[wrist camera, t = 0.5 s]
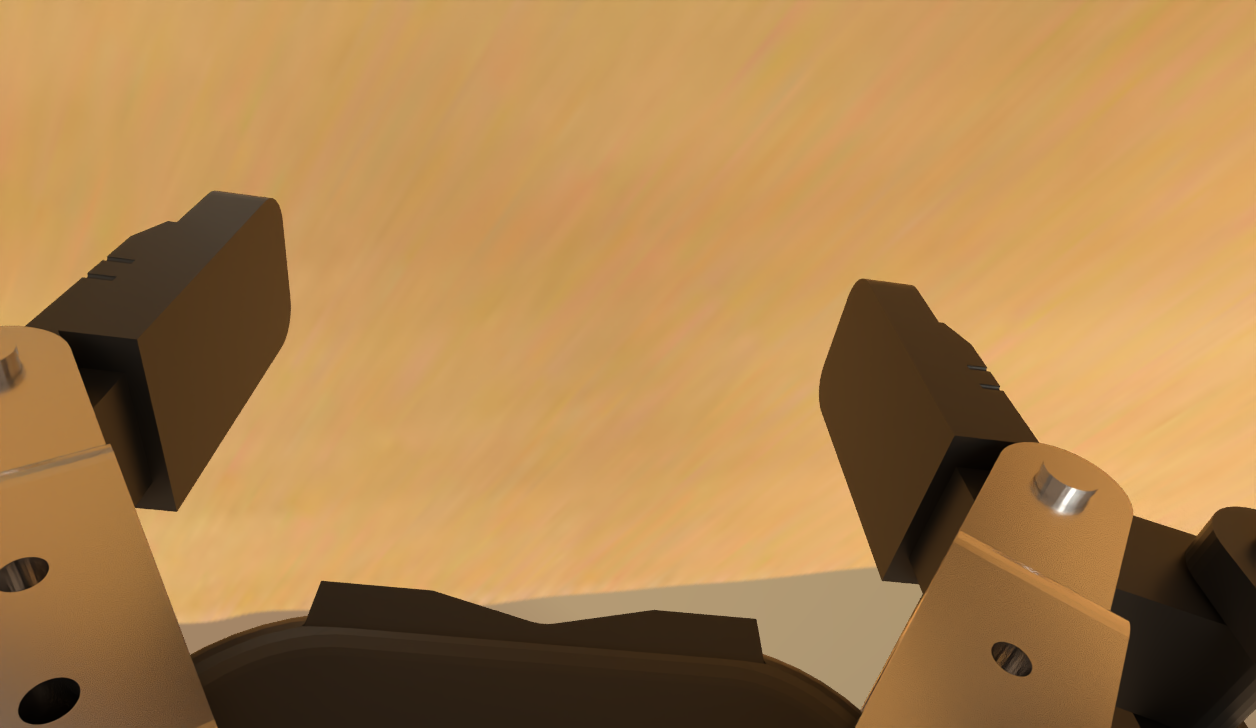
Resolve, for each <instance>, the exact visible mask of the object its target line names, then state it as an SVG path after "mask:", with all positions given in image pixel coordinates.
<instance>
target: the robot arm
mask: <svg viewBox="0 0 1256 728" xmlns="http://www.w3.org/2000/svg"><path fill="white" fill-rule="evenodd" d="M290 313H291V301H290V290H289V280H288V270H287V260H286V250H285V239H284V229H283V220H282V214H281V210H280V207H279V205H278V203H277V201H276V200H275V199H273V198H266V197H258V196H251V195H243V194H236V193H228V192H221V191H212V192H210V193H209V194H208V195H206V196H205V197H204V198H203V199H202V200H201V201H200V202H199V203H198V204H197V205H195V206H194V207H193V208H192V209H191V210H190V211H189V212H188V213H187V214H185V215H184V216H183V217H182V218H181V219H180V220H179V221H178V222H170V221H167V222H165V223H162V224H160V225H157V226H155V227H153V228H150V229H148V230H145V231H143V232H140V233H138V234H135V235H133V236H131V237H129V238H128V239H127V240H126V241H125V242H124V243H122V244H121V245H120V246H119V247H118V248H117V249H115V250H114V251H113V252H112V253H111V254H109V255H108V256H107V261H104V260H102V261H101V262H100V263H99V264H98V265H97V266H95V267H94V268H93V269H92V270H91V271H89V272H88V277H87V278H83V277H82V278H81V279H80V280H79V281H78V282H77V283H75V284H74V285H73V286H72V287H71V288H69V289H68V290H67V291H66V292H65V293H64V294H62V295H61V296H60V297H59V298H58V299H57V300H55V301H54V302H53V303H52V304H51V305H49V306H48V307H47V308H46V309H45V310H44V311H42V312H41V313H40V314H39V315H38V316H37V317H35V318H34V319H33V320H32V321H31V322H29V323H28V324H27V325H26V326H25V327H23V326H0V728H1248V727H1247V725H1246V724H1245V722H1244V720H1245V719H1246V718H1247V717H1248V716H1249V715H1250V714H1251V713H1252V712H1253V711H1254V710H1255V709H1256V509H1251V508H1246V507H1226V508H1223V509H1220V510H1218V511H1217V512H1216V513H1215V514H1214V515H1213V516H1212V518H1211V519H1210V520H1209V521H1208V523H1207V524H1206V525H1205V526H1204V528H1203V529H1202V530H1201V531H1200V533H1199V534H1198V535H1197V536H1195V535H1192V534H1189V533H1186V532H1183V531H1180V530H1176V529H1173V528H1170V527H1167V526H1164V525H1161V524H1158V523H1155V522H1152V521H1148V520H1145V519H1142V518H1139V517H1136V516H1133V508H1132V504H1131V502H1130V500H1129V498H1128V496H1127V495H1126V493H1125V492H1124V490H1123V489H1122V488H1121V487H1120V486H1119V485H1118V484H1117V482H1116V481H1115V480H1113V479H1112V478H1111V477H1110V476H1109V475H1108V474H1107V473H1105V472H1104V471H1103V470H1101V469H1100V468H1098V467H1097V466H1095V465H1094V464H1092V463H1091V462H1089V461H1087V460H1085V459H1083V458H1082V457H1080V456H1078V455H1076V454H1073V453H1071V452H1069V451H1066V450H1064V449H1061V448H1058V447H1055V446H1051V445H1046V444H1042V443H1039V442H1038V440H1037V439H1036V437H1035V436H1034V435H1033V433H1032V432H1031V430H1030V429H1029V427H1028V426H1027V424H1026V423H1025V422H1024V420H1023V419H1022V417H1021V416H1020V414H1019V413H1018V411H1017V410H1016V409H1015V407H1014V406H1013V404H1012V403H1011V401H1010V400H1009V398H1008V397H1007V396H1006V394H1005V393H1004V391H1000V390H999V387H1000V385H999V384H998V383H997V381H996V380H995V378H994V377H993V375H992V374H991V372H988V371H986V369H987V367H986V365H985V364H984V362H983V361H982V359H981V358H980V357H979V355H978V354H977V352H976V351H975V349H974V348H973V346H972V345H971V344H970V343H969V342H967V341H966V340H965V339H964V338H962V337H961V336H960V335H958V334H957V333H956V332H955V331H953V330H952V329H951V328H949V327H948V326H947V325H946V324H944V323H940V322H938V320H937V319H936V317H935V316H934V314H933V313H932V311H931V310H930V308H929V307H928V305H927V304H926V302H925V301H924V299H923V298H922V296H921V295H920V293H919V292H918V290H917V289H916V288H915V287H914V286H913V285H906V284H899V283H891V282H884V281H876V280H869V279H860V280H858V281H857V282H856V283H855V285H854V286H853V288H852V290H851V292H850V294H849V296H848V299H847V302H846V305H845V308H844V310H843V313H842V316H841V319H840V322H839V324H838V327H837V330H836V333H835V336H834V338H833V341H832V344H831V347H830V350H829V352H828V355H827V358H826V361H825V364H824V367H823V370H822V374H821V379H820V386H819V402H820V408H821V412H822V414H823V417H824V420H825V423H826V426H827V428H828V431H829V434H830V437H831V440H832V442H833V445H834V448H835V451H836V454H837V456H838V459H839V462H840V465H841V468H842V470H843V473H844V476H845V479H846V482H847V484H848V487H849V490H850V493H851V496H852V498H853V501H854V504H855V507H856V510H857V512H858V515H859V518H860V521H861V524H862V526H863V529H864V532H865V535H866V538H867V540H868V543H869V546H870V549H871V552H872V554H873V557H874V560H875V563H876V566H877V568H878V571H879V574H880V577H881V579H882V581H891V582H901V583H912V584H919V585H920V588H921V590H922V593H923V595H922V597H921V598H920V600H919V602H918V604H917V606H916V608H915V609H914V611H913V613H912V615H911V617H910V618H909V620H908V622H907V624H906V626H905V628H904V630H903V632H902V633H901V636H900V637H899V639H898V641H897V643H896V645H895V646H894V648H893V650H892V652H891V654H890V656H889V658H888V659H887V661H886V663H885V665H884V667H883V669H882V671H881V672H880V674H879V676H878V678H877V680H876V682H875V683H874V685H873V687H872V689H871V691H870V693H869V695H868V697H867V698H866V700H865V702H864V704H863V706H862V708H861V710H859V709H858V708H857V707H855V706H854V705H853V704H852V703H851V702H850V701H848V700H847V699H846V698H845V697H843V696H842V695H840V694H839V693H838V692H836V691H834V690H833V689H832V688H830V687H829V686H827V685H826V684H824V683H823V682H821V681H820V680H818V679H816V678H814V677H812V676H811V675H809V674H807V673H805V672H803V671H802V670H800V669H798V668H796V667H794V666H791V665H789V664H786V663H784V662H782V661H780V660H777V659H775V658H772V657H770V656H767V655H764V654H762V648H761V643H760V637H759V632H758V626H757V620H756V619H750V618H738V617H727V616H715V615H704V614H693V613H682V612H670V611H658V610H651V611H644V612H636V613H629V614H622V615H614V616H608V617H600V618H593V619H585V620H578V621H572V622H563V623H556V624H539V623H534V622H530V621H527V620H524V619H521V618H517V617H515V616H511V615H508V614H505V613H502V612H499V611H496V610H492V609H489V608H486V607H483V606H480V605H477V604H473V603H470V602H467V601H464V600H461V599H457V598H454V597H451V596H448V595H445V594H442V593H438V592H435V591H431V590H419V589H408V588H397V587H385V586H374V585H362V584H351V583H340V582H328V581H321V583H320V586H319V588H318V591H317V593H316V596H315V599H314V601H313V604H312V606H311V609H310V612H309V614H308V616H303V617H296V618H290V619H286V620H282V621H278V622H273V623H269V624H265V625H261V626H258V627H255V628H252V629H249V630H246V631H243V632H240V633H237V634H234V635H231V636H229V637H227V638H224V639H222V640H220V641H218V642H215V643H213V644H211V645H208V646H206V647H204V648H202V649H201V650H198V651H196V652H194V653H193V654H191V655H190V653H189V651H188V648H187V645H186V643H185V640H184V637H183V635H182V632H181V630H180V627H179V624H178V621H177V619H176V616H175V613H174V611H173V608H172V605H171V603H170V600H169V597H168V595H167V592H166V589H165V587H164V584H163V581H162V579H161V576H160V573H159V571H158V568H157V565H156V563H155V560H154V557H153V555H152V552H151V549H150V547H149V544H148V542H147V539H146V536H145V534H144V531H143V528H142V526H141V523H140V520H139V518H138V515H137V512H136V510H135V508H143V509H154V510H164V511H175V512H177V511H178V509H179V508H180V506H181V505H182V503H183V501H184V500H185V498H186V497H187V495H188V494H189V492H190V490H191V489H192V487H193V486H194V484H195V483H196V481H197V479H198V478H199V476H200V475H201V473H202V472H203V470H204V468H205V467H206V465H207V464H208V462H209V461H210V459H211V457H212V456H213V454H214V453H215V451H216V450H217V448H218V446H219V445H220V443H221V442H222V440H223V439H224V437H225V435H226V434H227V432H228V431H229V429H230V428H231V426H232V424H233V423H234V421H235V420H236V418H237V417H238V415H239V413H240V412H241V410H242V409H243V407H244V406H245V404H246V402H247V401H248V399H249V398H250V396H251V395H252V393H253V391H254V390H255V388H256V387H257V385H258V384H259V382H260V380H261V379H262V377H263V376H264V374H265V373H266V371H267V369H268V368H269V366H270V365H271V363H272V362H273V360H274V358H275V357H276V355H277V354H278V352H279V351H280V349H281V347H282V346H283V344H284V341H285V339H286V336H287V332H288V328H289V323H290Z"/></svg>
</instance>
